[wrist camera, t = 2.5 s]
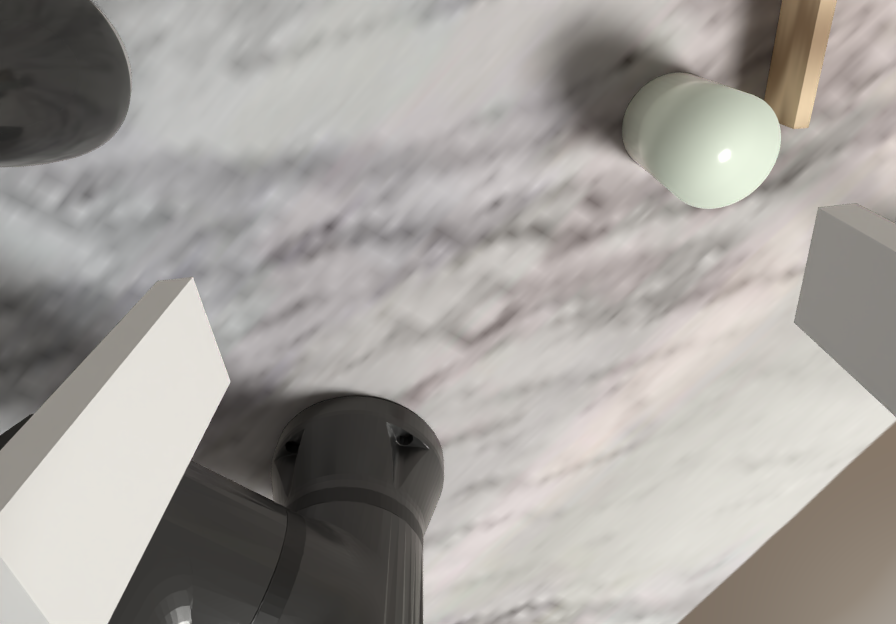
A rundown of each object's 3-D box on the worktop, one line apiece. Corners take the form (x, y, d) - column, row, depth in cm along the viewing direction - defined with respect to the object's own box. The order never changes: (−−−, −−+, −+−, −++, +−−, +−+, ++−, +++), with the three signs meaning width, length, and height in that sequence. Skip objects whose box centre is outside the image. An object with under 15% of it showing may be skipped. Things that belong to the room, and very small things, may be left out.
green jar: (710, 166, 41) (768, 204, 34) (618, 174, 41) (657, 213, 34) (724, 68, 38) (792, 87, 31) (625, 76, 38) (670, 97, 31)
